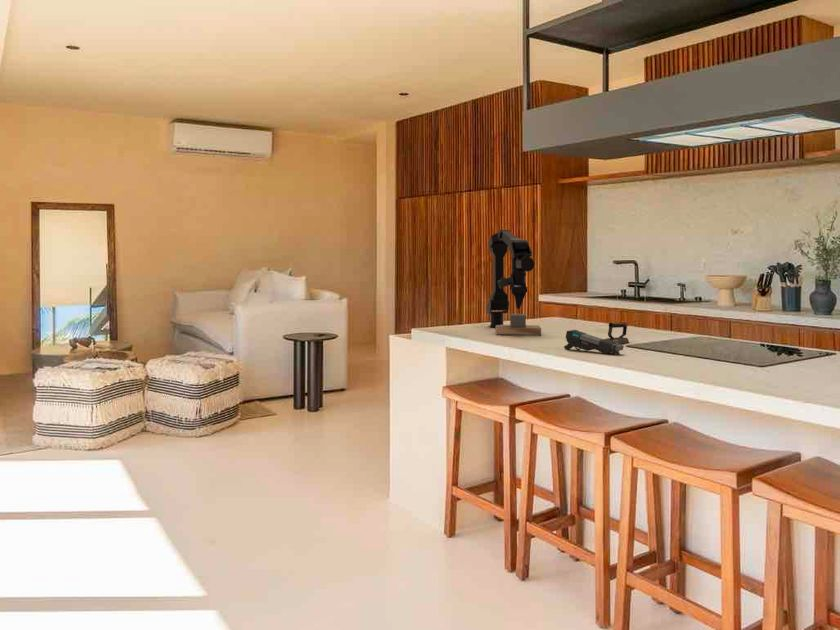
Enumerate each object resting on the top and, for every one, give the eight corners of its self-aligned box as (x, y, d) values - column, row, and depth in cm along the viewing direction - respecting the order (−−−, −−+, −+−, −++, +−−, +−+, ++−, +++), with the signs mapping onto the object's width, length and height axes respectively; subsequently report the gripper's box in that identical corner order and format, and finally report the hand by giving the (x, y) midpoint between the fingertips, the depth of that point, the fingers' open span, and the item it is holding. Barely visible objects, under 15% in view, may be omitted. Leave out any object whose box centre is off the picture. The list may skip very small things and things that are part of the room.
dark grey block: (510, 330, 303) (510, 313, 302) (524, 330, 303) (524, 314, 302) (510, 332, 298) (510, 315, 297) (525, 332, 297) (525, 315, 296)
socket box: (495, 332, 306) (495, 323, 306) (538, 332, 305) (538, 323, 304) (496, 335, 295) (496, 326, 295) (541, 335, 294) (541, 327, 294)
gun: (566, 347, 260) (575, 321, 256) (615, 372, 248) (625, 345, 245) (560, 348, 256) (569, 322, 253) (609, 373, 245) (619, 347, 242)
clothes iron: (600, 344, 272) (603, 318, 273) (619, 349, 278) (622, 323, 279) (615, 345, 266) (618, 318, 267) (634, 349, 273) (637, 323, 274)
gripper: (498, 269, 307) (497, 306, 309) (499, 271, 289) (499, 310, 290) (524, 269, 306) (524, 306, 308) (527, 271, 288) (527, 310, 290)
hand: (518, 308), depth 299 cm, fingers closed
